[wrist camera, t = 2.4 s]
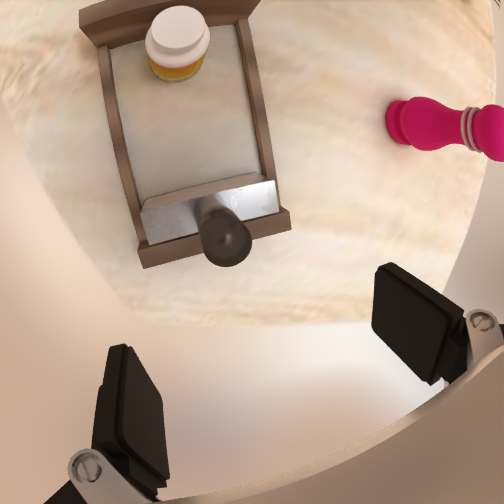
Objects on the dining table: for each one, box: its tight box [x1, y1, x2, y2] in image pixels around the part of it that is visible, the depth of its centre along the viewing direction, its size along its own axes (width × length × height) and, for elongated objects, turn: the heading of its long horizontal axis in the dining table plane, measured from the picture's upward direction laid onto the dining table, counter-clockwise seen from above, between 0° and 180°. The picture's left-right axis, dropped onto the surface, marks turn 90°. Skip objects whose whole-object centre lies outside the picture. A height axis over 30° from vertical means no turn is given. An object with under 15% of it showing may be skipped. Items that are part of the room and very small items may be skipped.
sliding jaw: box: [140, 172, 279, 267], centre depth 23 cm, size 3×12×14 cm, turn 100°
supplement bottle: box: [145, 6, 210, 82], centre depth 19 cm, size 5×5×10 cm
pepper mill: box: [386, 97, 504, 162], centre depth 23 cm, size 7×7×20 cm
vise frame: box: [79, 0, 292, 269], centre depth 23 cm, size 27×16×8 cm, turn 10°
